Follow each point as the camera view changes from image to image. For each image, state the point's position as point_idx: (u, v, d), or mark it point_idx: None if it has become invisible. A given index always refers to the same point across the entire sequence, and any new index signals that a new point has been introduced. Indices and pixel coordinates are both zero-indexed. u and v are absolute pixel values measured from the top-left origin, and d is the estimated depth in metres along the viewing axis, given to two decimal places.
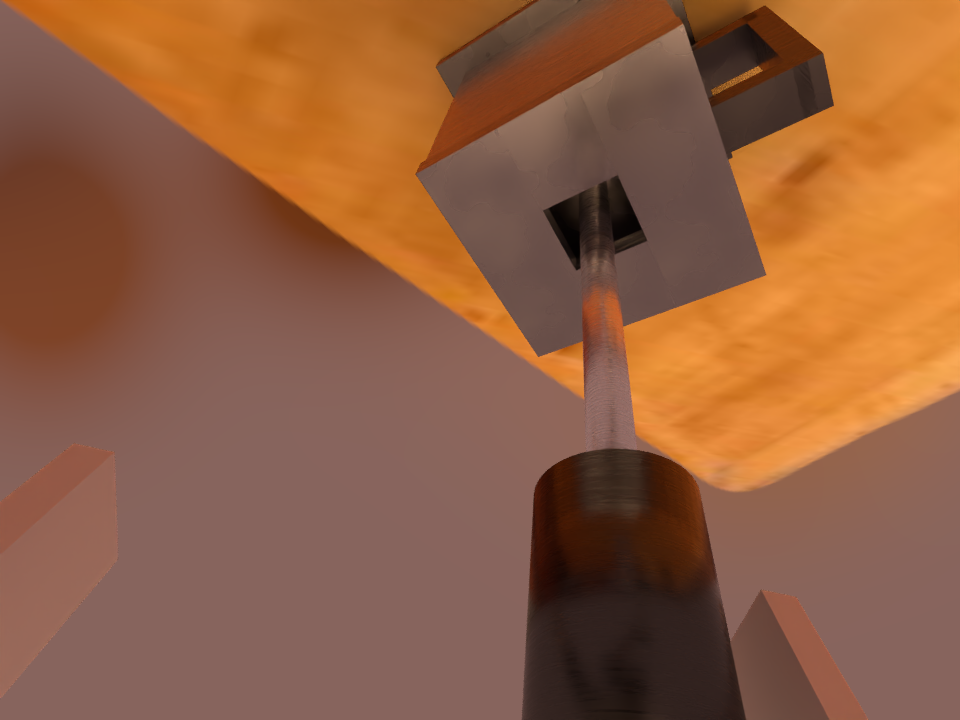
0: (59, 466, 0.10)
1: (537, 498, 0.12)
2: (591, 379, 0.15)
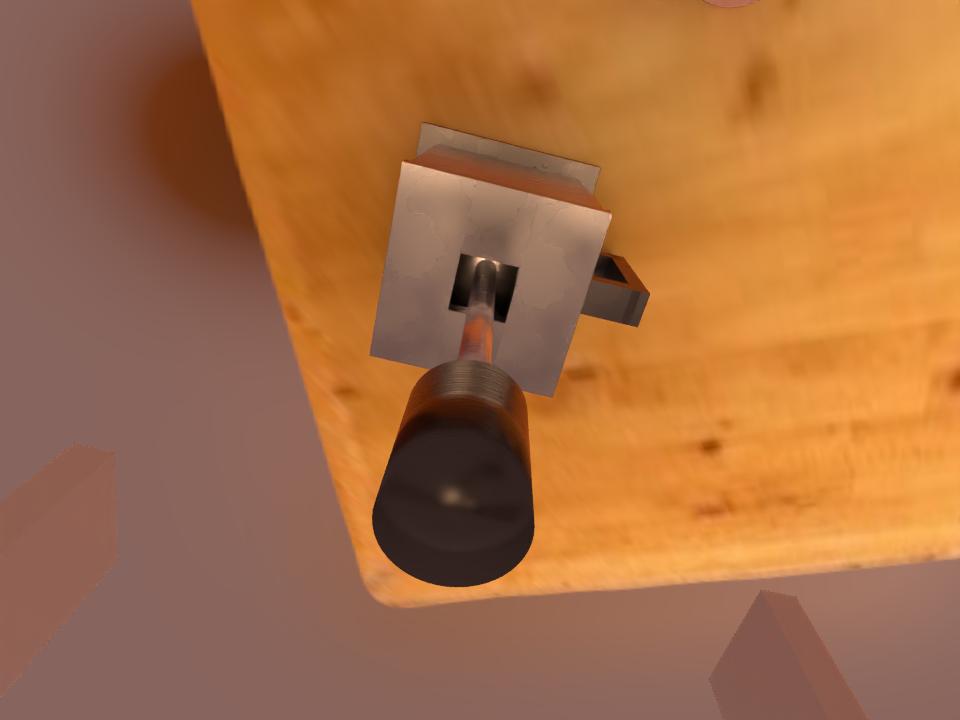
0: (60, 466, 0.10)
1: (433, 373, 0.16)
2: (471, 350, 0.20)
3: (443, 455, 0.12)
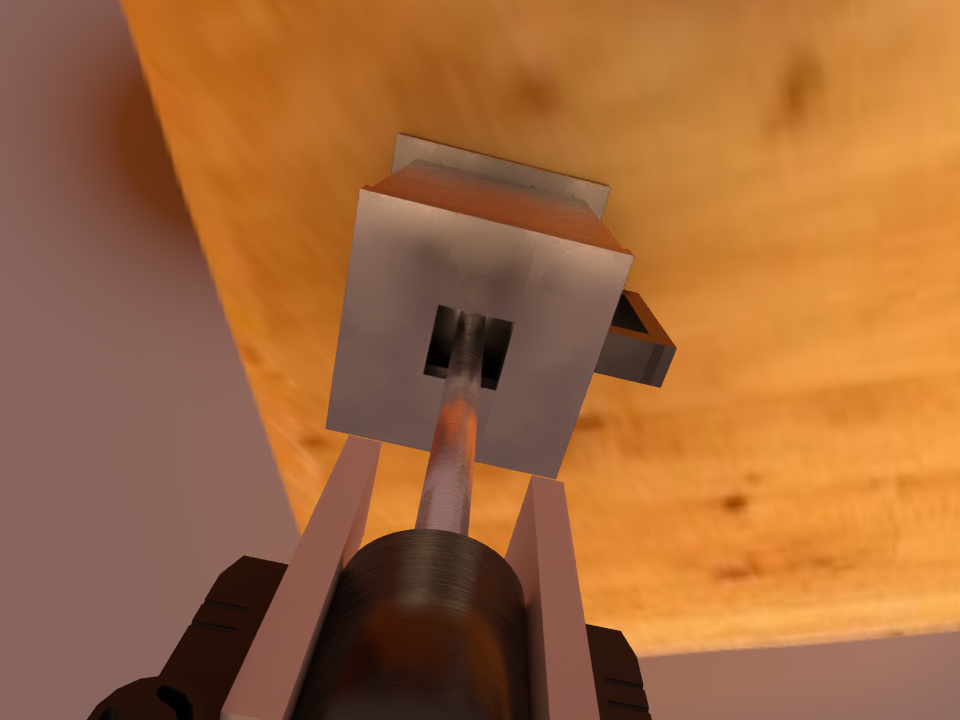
0: (350, 454, 0.12)
1: (372, 556, 0.10)
2: (443, 471, 0.14)
3: None
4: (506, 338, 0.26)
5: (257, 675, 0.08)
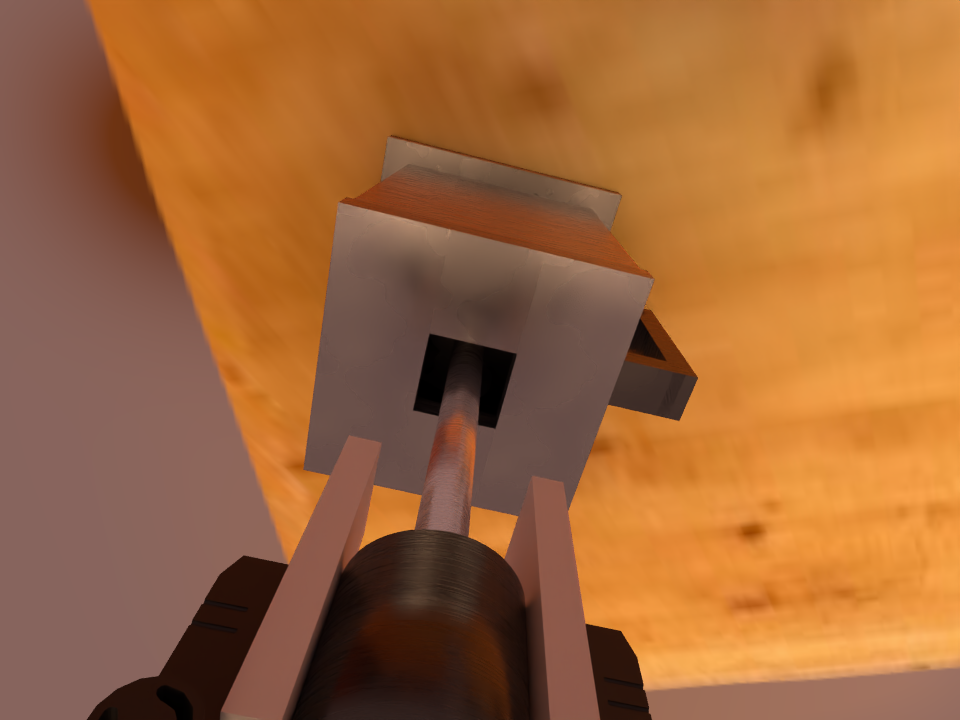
0: (350, 454, 0.12)
1: (373, 557, 0.10)
2: (443, 471, 0.14)
3: None
4: None
5: (257, 675, 0.08)
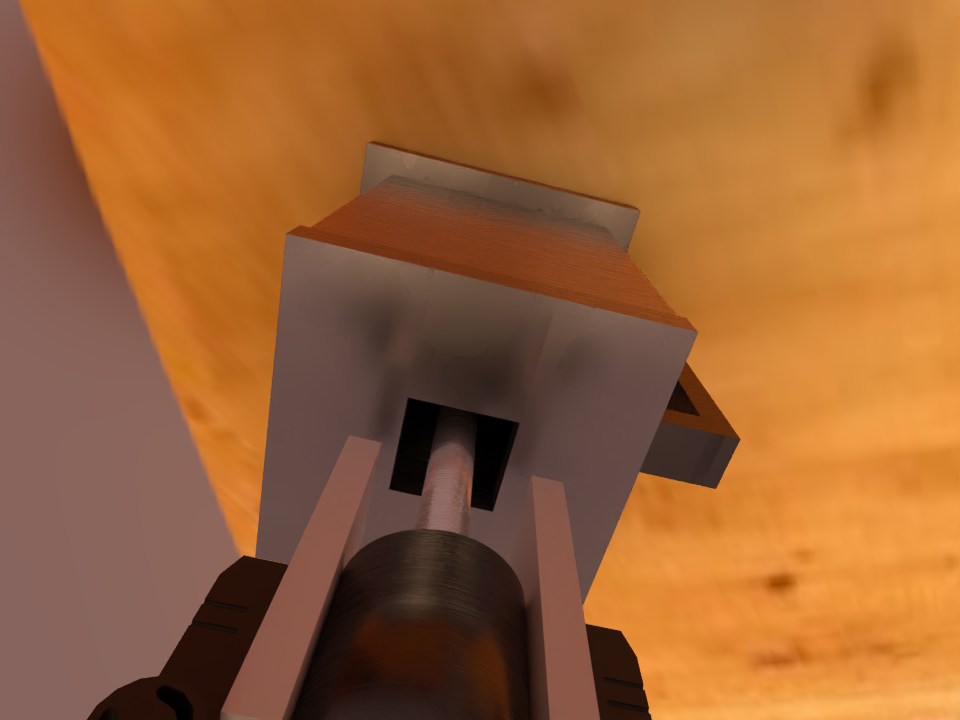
0: (350, 454, 0.12)
1: (373, 556, 0.10)
2: (443, 471, 0.14)
3: None
4: None
5: (257, 675, 0.08)
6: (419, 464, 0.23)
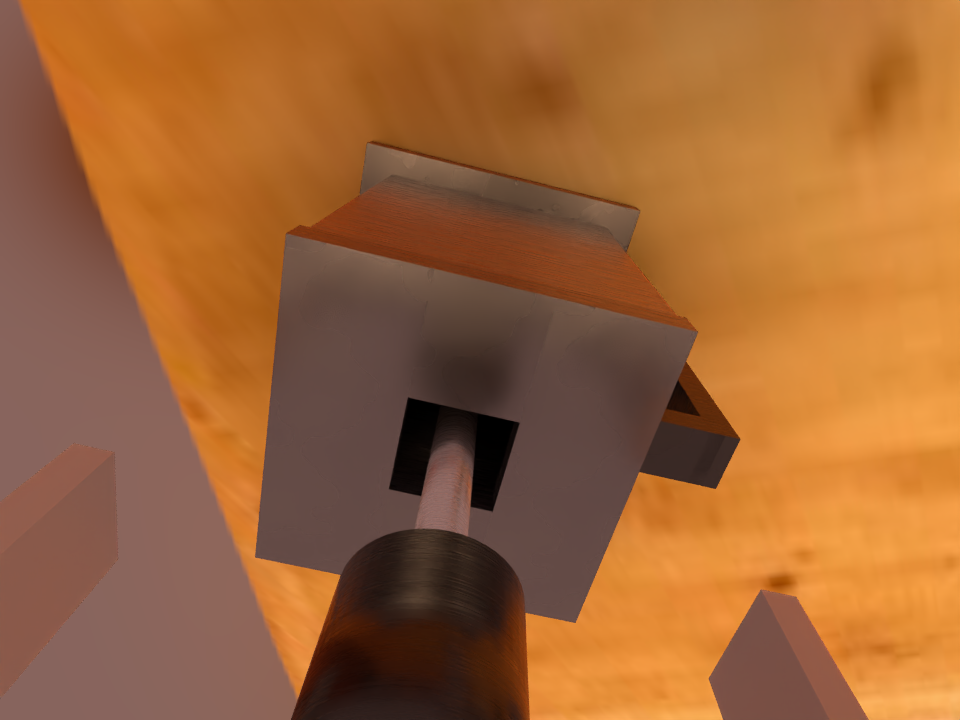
0: (59, 466, 0.10)
1: (373, 556, 0.10)
2: (443, 471, 0.14)
3: None
4: None
5: None
6: (419, 464, 0.23)
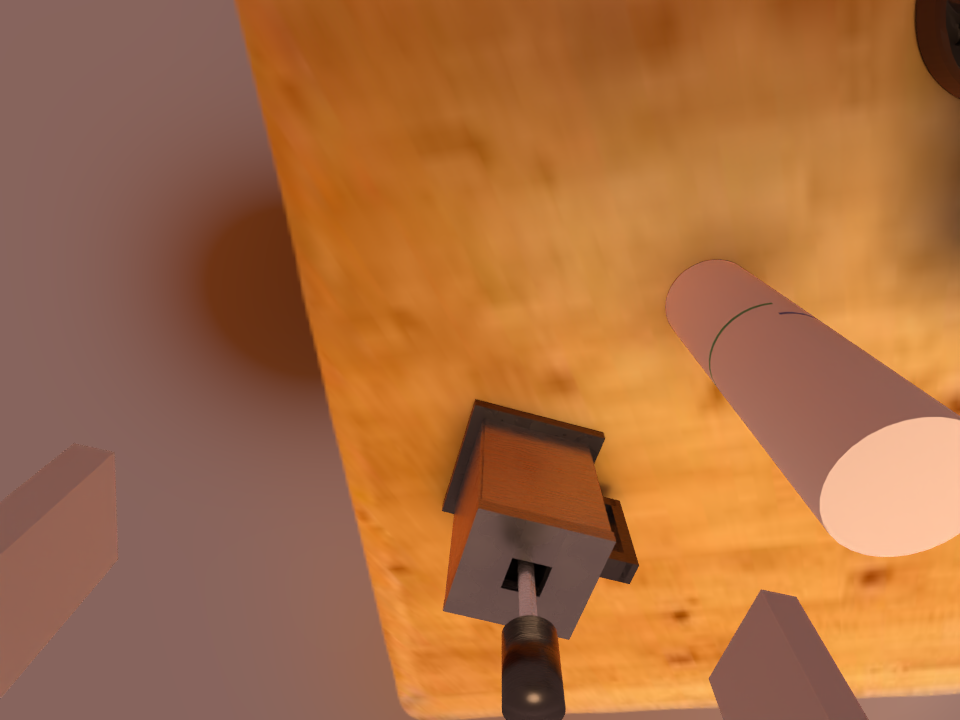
0: (59, 466, 0.10)
1: (517, 623, 0.36)
2: (526, 587, 0.40)
3: (532, 686, 0.32)
4: None
5: None
6: None
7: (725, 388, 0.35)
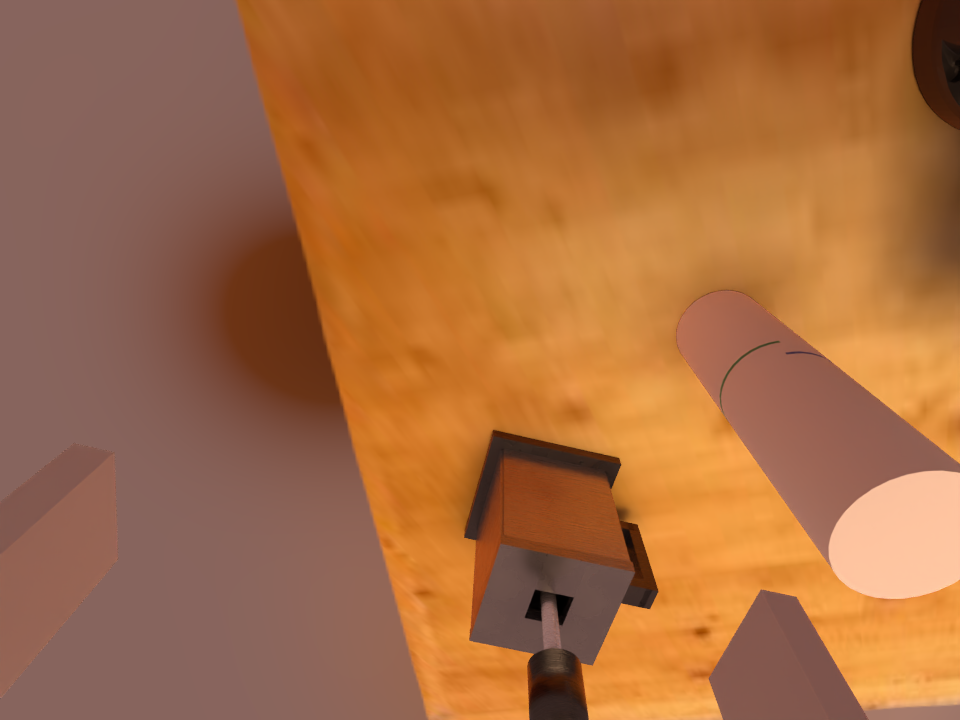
0: (59, 466, 0.10)
1: (542, 656, 0.38)
2: (549, 618, 0.42)
3: None
4: None
5: None
6: None
7: (736, 426, 0.36)
